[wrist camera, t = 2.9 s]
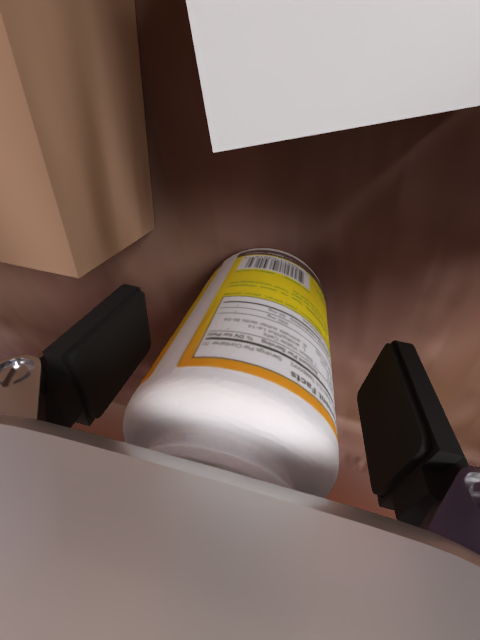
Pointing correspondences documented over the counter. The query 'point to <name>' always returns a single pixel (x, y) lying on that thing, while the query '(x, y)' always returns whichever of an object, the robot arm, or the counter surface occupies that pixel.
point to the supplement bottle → (247, 378)
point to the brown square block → (71, 134)
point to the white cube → (330, 64)
